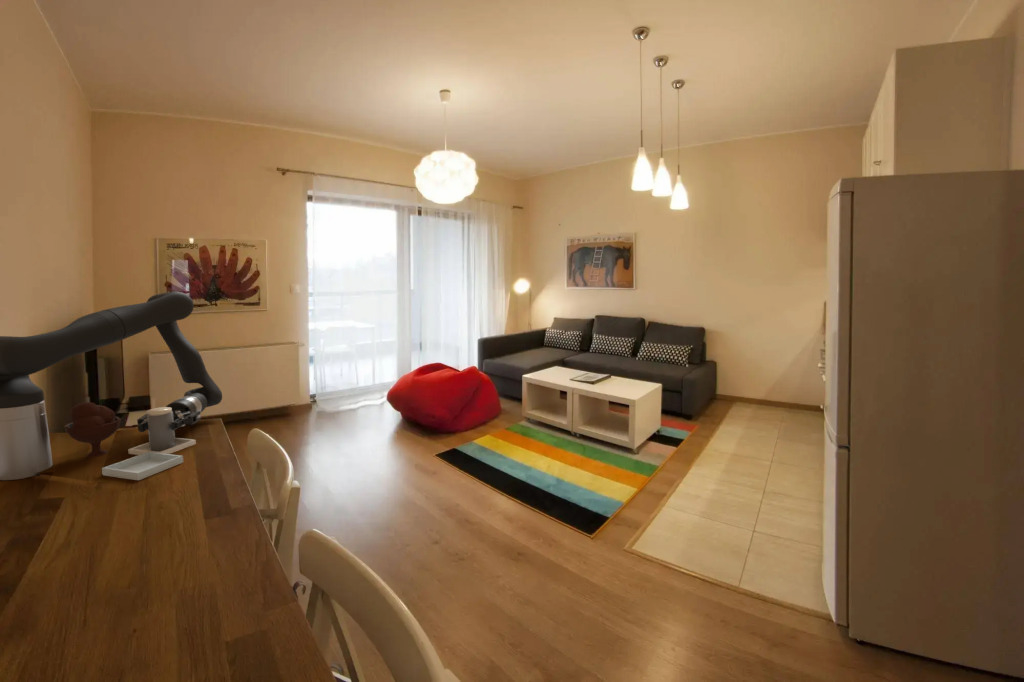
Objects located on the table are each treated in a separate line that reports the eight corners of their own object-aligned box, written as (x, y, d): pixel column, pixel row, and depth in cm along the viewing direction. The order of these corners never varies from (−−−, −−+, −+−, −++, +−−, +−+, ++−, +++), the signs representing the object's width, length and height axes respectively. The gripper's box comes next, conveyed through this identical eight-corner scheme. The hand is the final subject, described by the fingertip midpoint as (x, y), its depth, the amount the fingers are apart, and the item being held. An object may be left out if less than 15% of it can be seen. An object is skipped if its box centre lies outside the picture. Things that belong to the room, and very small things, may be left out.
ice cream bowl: (99, 465, 114) (93, 407, 112) (56, 464, 115) (49, 406, 113) (134, 449, 125) (129, 396, 123) (95, 449, 125) (89, 396, 123)
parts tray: (129, 456, 120) (128, 449, 120) (167, 443, 130) (166, 436, 130) (159, 460, 118) (158, 453, 117) (196, 446, 128) (195, 439, 127)
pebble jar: (144, 451, 122) (141, 411, 120) (165, 444, 127) (161, 406, 126) (161, 453, 120) (157, 413, 119) (181, 446, 126) (177, 407, 124)
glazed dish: (102, 478, 107) (101, 468, 106) (150, 460, 117) (149, 451, 117) (138, 483, 104) (137, 473, 104) (183, 465, 115) (182, 455, 114)
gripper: (153, 400, 134) (123, 415, 118) (209, 397, 138) (187, 412, 122) (156, 424, 135) (126, 443, 119) (211, 420, 139) (189, 438, 123)
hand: (157, 427), depth 121 cm, fingers open, 7 cm apart
